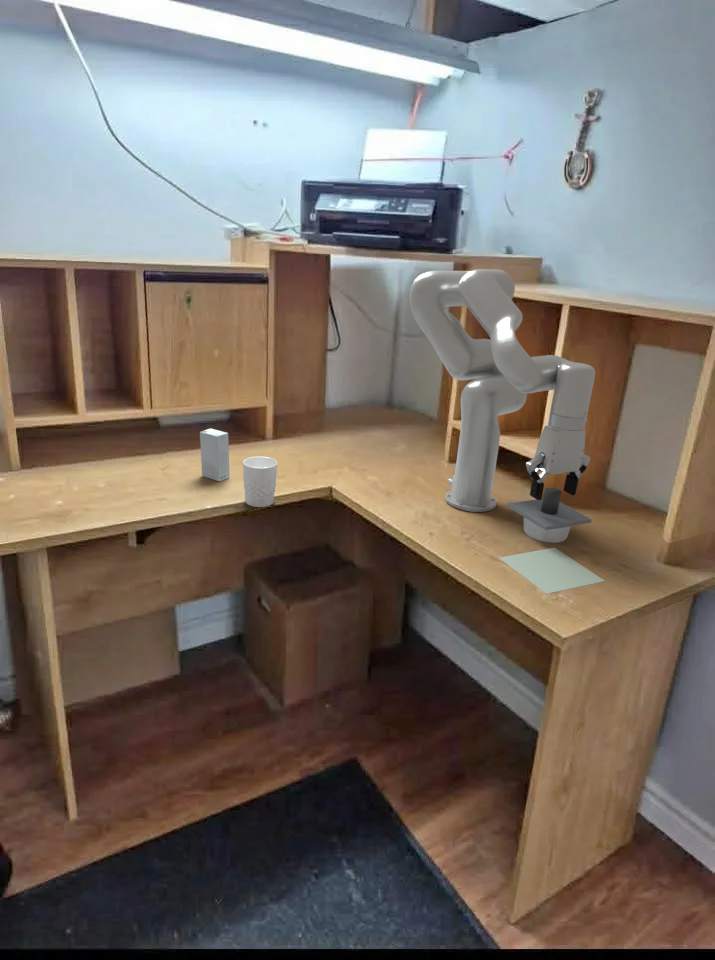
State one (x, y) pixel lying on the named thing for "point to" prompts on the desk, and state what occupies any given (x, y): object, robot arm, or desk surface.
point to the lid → (549, 511)
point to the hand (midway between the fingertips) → (552, 495)
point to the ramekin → (545, 532)
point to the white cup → (259, 480)
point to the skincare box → (214, 454)
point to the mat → (551, 570)
